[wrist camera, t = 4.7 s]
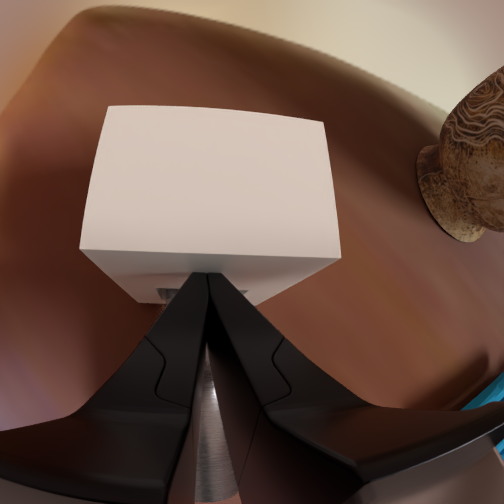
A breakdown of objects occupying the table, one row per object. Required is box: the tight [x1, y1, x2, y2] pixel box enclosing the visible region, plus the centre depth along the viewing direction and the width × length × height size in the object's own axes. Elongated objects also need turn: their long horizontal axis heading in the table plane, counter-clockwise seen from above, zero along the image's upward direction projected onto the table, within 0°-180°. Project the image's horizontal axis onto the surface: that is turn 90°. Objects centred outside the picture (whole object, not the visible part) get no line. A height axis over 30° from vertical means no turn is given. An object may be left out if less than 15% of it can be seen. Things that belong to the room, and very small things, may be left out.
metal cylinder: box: [165, 288, 238, 502], centre depth 14 cm, size 16×3×5 cm, turn 1°
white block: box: [79, 106, 341, 305], centre depth 12 cm, size 4×6×10 cm, turn 91°
